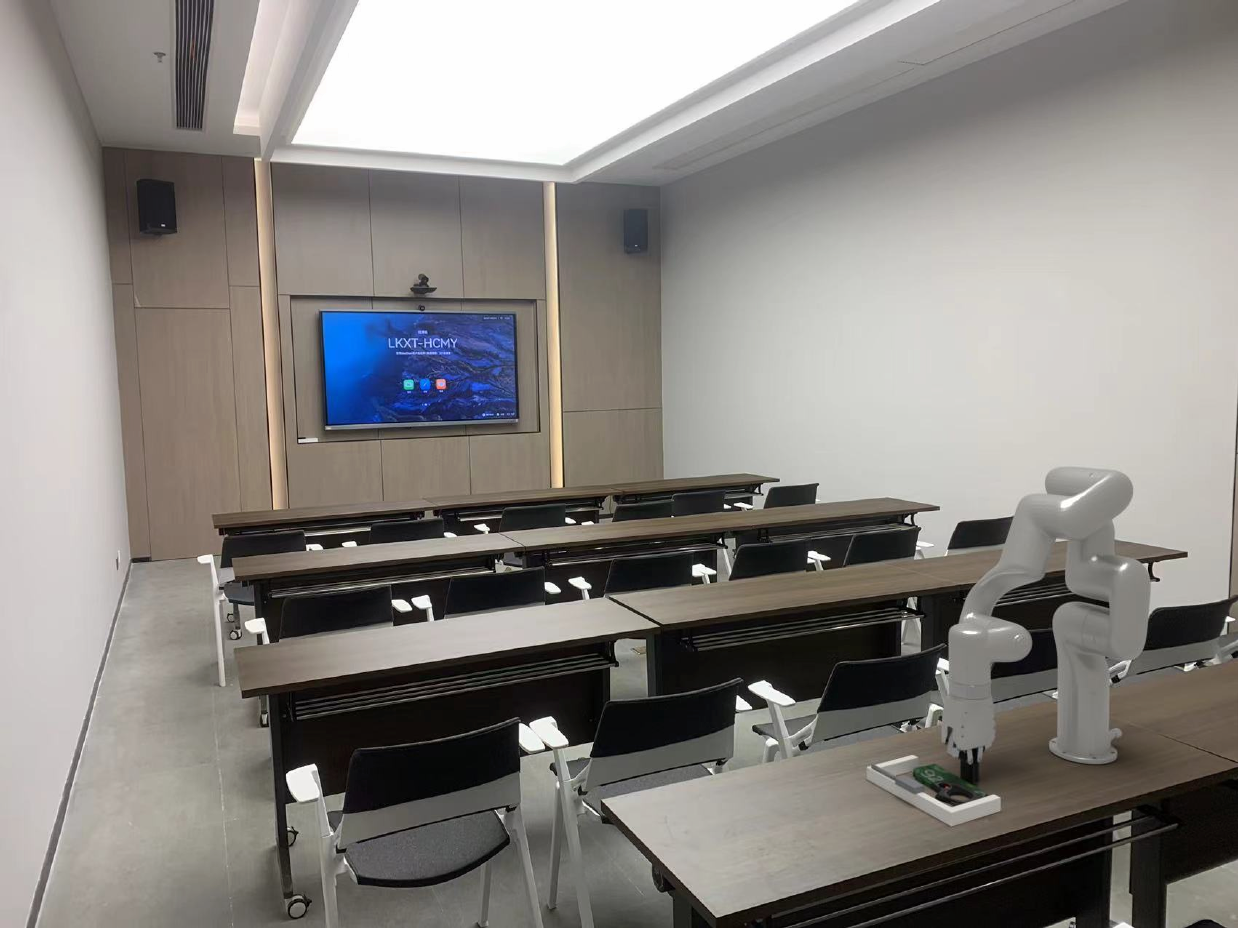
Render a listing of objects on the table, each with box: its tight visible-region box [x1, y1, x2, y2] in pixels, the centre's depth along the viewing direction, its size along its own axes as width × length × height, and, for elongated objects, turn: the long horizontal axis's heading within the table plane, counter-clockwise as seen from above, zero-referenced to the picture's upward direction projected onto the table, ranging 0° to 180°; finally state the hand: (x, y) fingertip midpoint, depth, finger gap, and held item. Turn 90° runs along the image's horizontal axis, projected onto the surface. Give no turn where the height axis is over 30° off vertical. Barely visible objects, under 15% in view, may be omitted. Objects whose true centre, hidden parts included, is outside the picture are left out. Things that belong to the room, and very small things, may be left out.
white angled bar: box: [866, 754, 1002, 827], centre depth 169 cm, size 12×22×4 cm, turn 25°
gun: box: [912, 763, 989, 807], centre depth 172 cm, size 16×2×10 cm
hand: (969, 780), depth 173 cm, fingers closed
